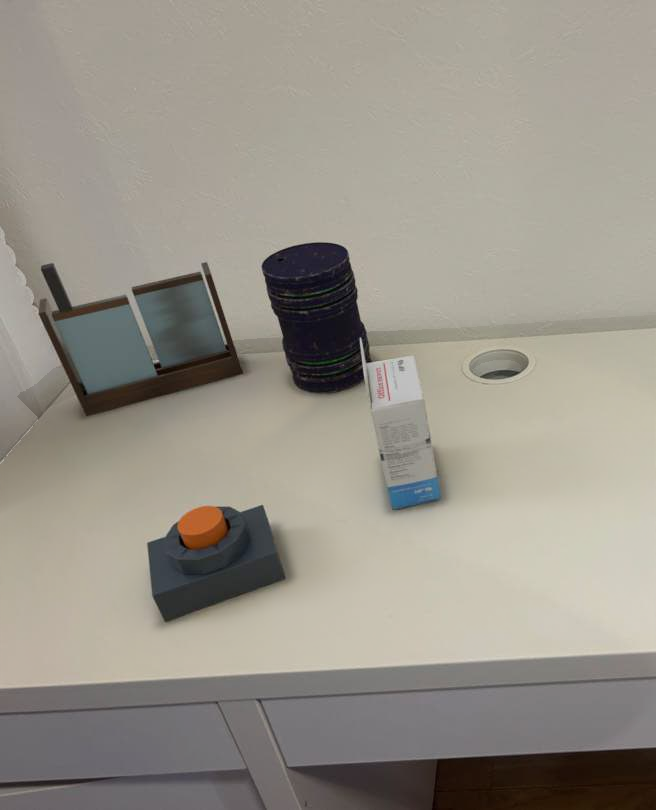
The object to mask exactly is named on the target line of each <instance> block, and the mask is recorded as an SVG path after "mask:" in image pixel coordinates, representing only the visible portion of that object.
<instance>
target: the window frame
mask: <svg viewBox="0 0 656 810" xmlns="http://www.w3.org/2000/svg"><path fill="white" fill-rule="evenodd" d="M200 265H201V268H202V271H195V272H192V273H188V274H182V275H179V276H174V277H170V278H169V277H168V278H166V279H161V280H157V281H152V282H148V283H144V284H139V285H135V286H131V292H132V294H133V297H134V300H135V302H136V306H137V309H138V310H139V312H140V315H141V319H142V321H143V323H144V325H145V329H146V330H147V331H146V332H147V333H148V336H149V338H150V341H151V343H152V346H153V349H154V352H155V354H156V356H157V359H158V361H156V362H153V364H154V366H155V369H156V371H157V374H158V376H155V377H152V378H148V379H144V380H140V381H137V382H133V383H129V384H125V385H122V386H118V387H114V388H110V389H106V390H103V391H99V392H95V393H91V394H87V391H86V389H85V387H84V385H83V383H82V380H81V378H80V376H79V374H78V372H77V370H76V367H75V365H74V363H73V361H72V359H71V356H70V354H69V352H68V350H67V348H66V346H65V343H64V341H63V339H62V337H61V335H60V332H59V330H58V328H57V326H56V324H55V322H54V320H53V317H52V315H51V314H52V311H53V309H52V306H51V305H50V302H49V300H48V298H41V299H39V305H38V313H37V314H38V316H39V319H40V321H41V323H42V325H43V328H44V329H45V331H46V333H47V335H48V338H49V340H50V342H51V344H52V346H53V348H54V350H55V353H56V355H57V357H58V359H59V361H60V363H61V366H62V368H63V369H64V372H65V374H66V376H67V378H68V381H69V382H70V385H71V387H72V389H73V391H74V393H75V395H76V398H77V400H78V402H79V404H80V405H81V408H82V411H83V412H84V415H85V416H86V417H87V416H91V415H96V414H100V413H103V412H106V411H110V410H114V409H117V408H120V407H124V406H128V405H132V404H136V403H140V402H143V401H147V400H151V399H153V398H157V397H162V396H165V395H168V394H172V393H176V392H179V391H183V390H186V389H190V388H193V387H197V386H198V387H199V386H201V385H204V384H208V383H212V382H216V381H219V380H220V381H221V380H223V379H227V378H230V377H234V376H238V375H241V374H243V373H244V372H243V368H242V365H241V363H240V359H239V356H238V353H237V349H236V347H235V344H234V341H233V337H232V335H231V332H230V331H231V330H230V328H229V324H228V322H227V320H226V316H225V313H224V310H223V307H222V306H223V305H222V303H221V301H220V297H219V294H218V291H217V288H216V284H215V282H214V279H213V275H212V272H211V269H210V267H209V263H208V262H207V261H205V262H201V263H200ZM202 272H203V273H202ZM203 274H204V277H205V280H204V277H203ZM205 281H206V282H207V283H205ZM206 284H207V286H206ZM207 287H208V288H207ZM208 289H209V292H210V294H209V293H208ZM209 295H210V296H211V298H210V296H209ZM211 299H212V301H213V303H212V301H211ZM213 305H214V307H215V310H214V307H213ZM215 311H216V313H215ZM216 314H217V316H216ZM217 317H218V320H219V322H218V320H217ZM219 323H220V326H219ZM220 327H221V329H222V332H221V329H220ZM222 333H223V335H222ZM223 336H224V338H225V340H224V338H223ZM225 342H226V344H225Z"/></svg>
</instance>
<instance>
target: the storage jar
mask: <svg viewBox="0 0 656 810" xmlns="http://www.w3.org/2000/svg"><path fill="white" fill-rule="evenodd" d="M260 266H261V271H262V275H263V277H264V282H265V287H266V292H267V296H268V299H269V301H270V308H271V309H272V312H273V314H274V315H275V316H276V318H277V320H278V325H279V327H280V331H281V335H282V339H281V343H282V350H283V351H284V357H285V360H286V363H287V366H288V367H289V370H290V373H291V376H292V380H293V384H294V386H296V387H297V388H298V389H299V390H301V391H303V392H306V393H311V394H320V395H321V394H331V393H337V392H342V391H344V390H347V389H350V388H353V387H355V386H356V385H359V384H360V383H362V382H363V381H365V378H364V372H363V363H362V355H361V347H360V337H361V339H362V344H363V349H364V355H365V360H366V364H367V363H372V362H373V361H372V357H371V353H370V343H369V338H368V335H367V334H368V333H367V329H366V327H365V324H364V323H363V321H362V320H361V319H362V318H361V314H360V311H359V310H360V309H359V306H358V296H359V294H358V288H357V285H356V277H355V273H354V271H353V268H352V263H351V261H350V254H349V251H348V249H347V248H346V247H345V246H343V245H341V244H339V243H334V242H326V241H325V242H324V241H321V242H319V241H318V242H317V241H316V242H306V243H301V244H295V245H292V246H288V247H285V248H283V249H280V250H277V251H275V252H273V253H271V254H270V255H269V256H267V257H266V258H265V259H263V261H262V263H261V265H260Z"/></svg>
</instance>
